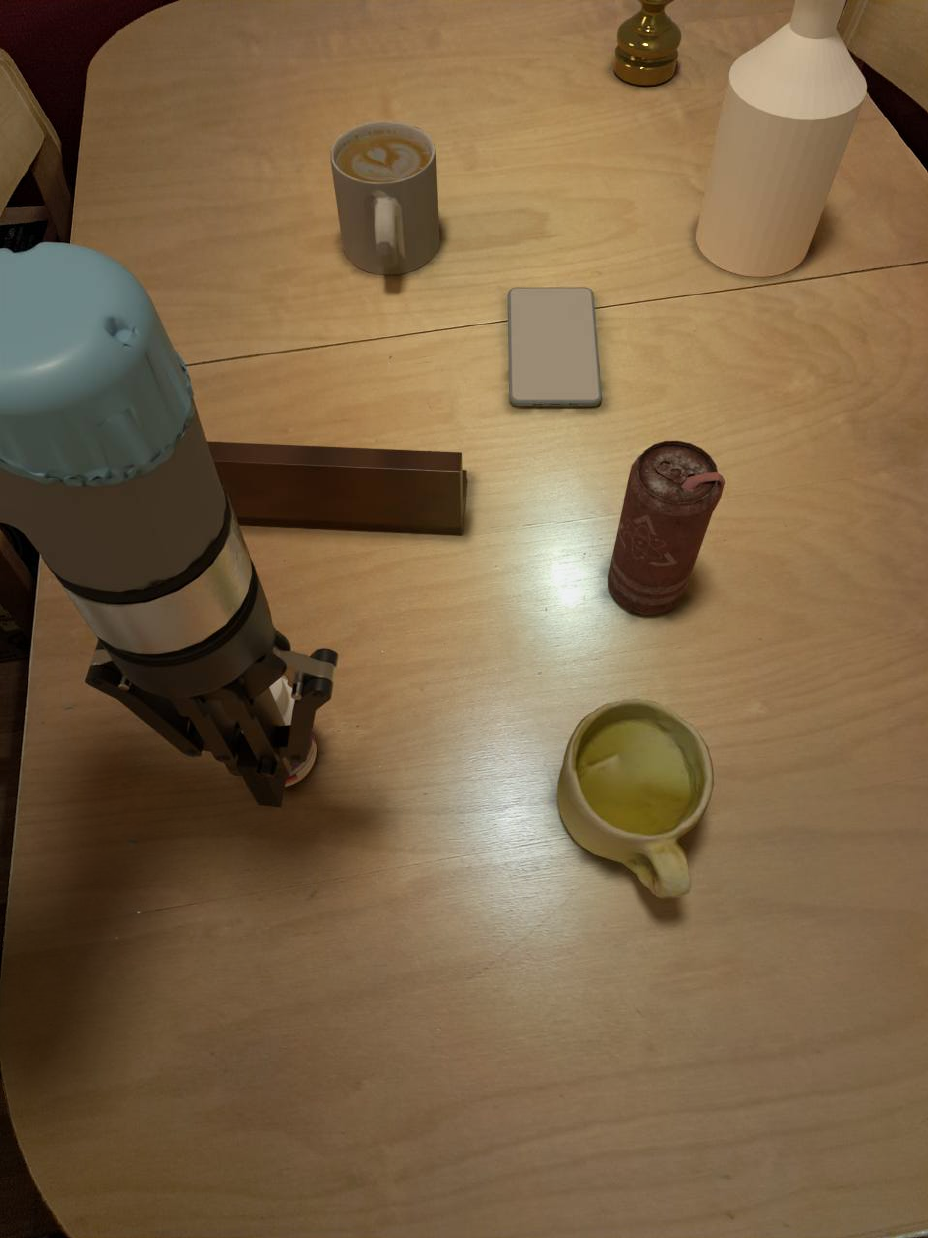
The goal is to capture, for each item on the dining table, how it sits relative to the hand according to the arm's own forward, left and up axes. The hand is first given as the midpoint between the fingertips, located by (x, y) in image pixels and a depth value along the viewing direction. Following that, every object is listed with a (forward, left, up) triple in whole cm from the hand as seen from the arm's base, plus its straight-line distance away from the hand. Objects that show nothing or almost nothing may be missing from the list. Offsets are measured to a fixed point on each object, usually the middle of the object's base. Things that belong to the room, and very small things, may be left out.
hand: (273, 786), depth 62 cm
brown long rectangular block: (0, +27, -4) cm, 27 cm away
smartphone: (+18, +46, -4) cm, 50 cm away
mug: (+24, 0, -4) cm, 24 cm away
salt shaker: (+28, +94, -4) cm, 98 cm away
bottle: (+38, +63, -4) cm, 74 cm away
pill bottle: (-1, +4, -4) cm, 6 cm away
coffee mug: (+1, +59, -4) cm, 59 cm away
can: (+26, +20, -4) cm, 33 cm away
